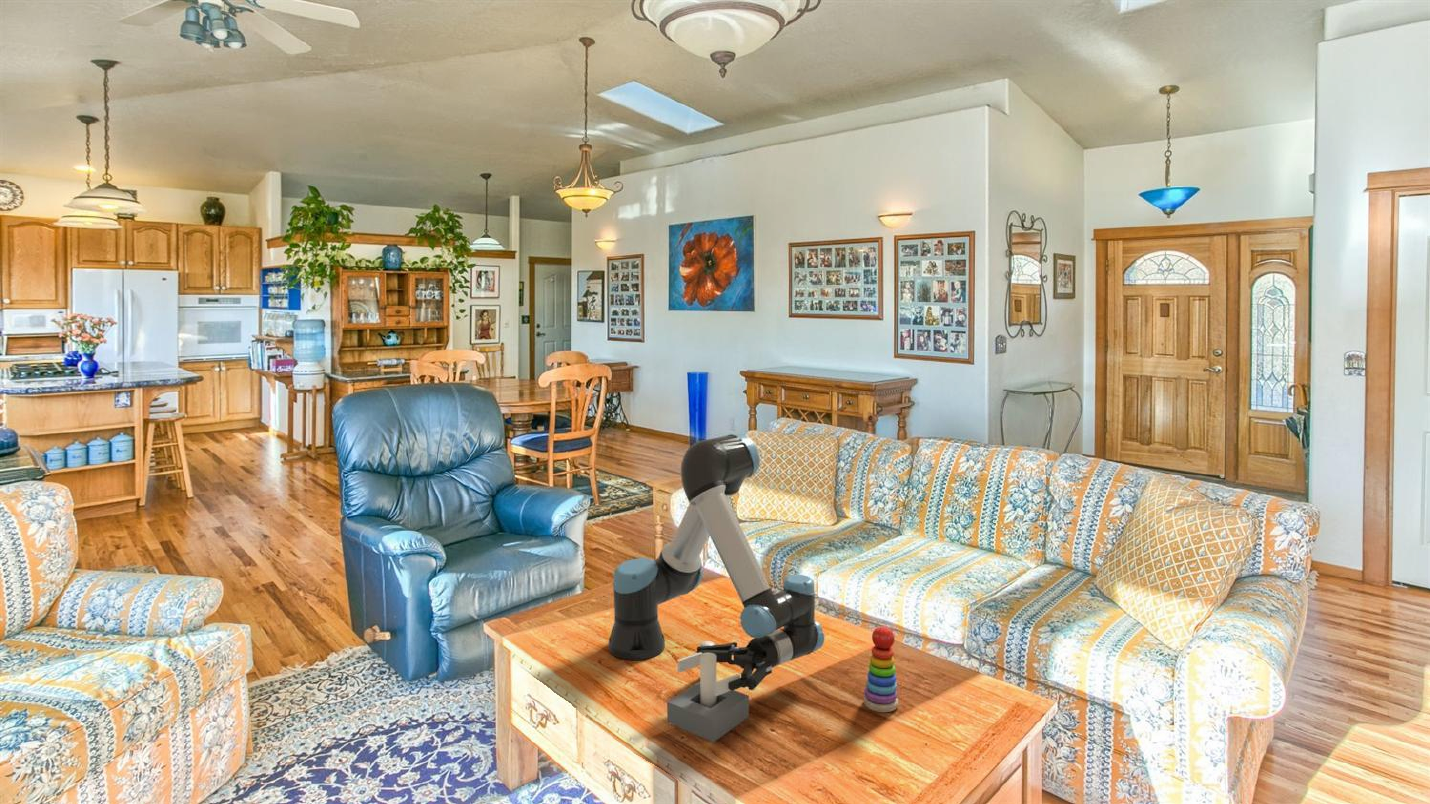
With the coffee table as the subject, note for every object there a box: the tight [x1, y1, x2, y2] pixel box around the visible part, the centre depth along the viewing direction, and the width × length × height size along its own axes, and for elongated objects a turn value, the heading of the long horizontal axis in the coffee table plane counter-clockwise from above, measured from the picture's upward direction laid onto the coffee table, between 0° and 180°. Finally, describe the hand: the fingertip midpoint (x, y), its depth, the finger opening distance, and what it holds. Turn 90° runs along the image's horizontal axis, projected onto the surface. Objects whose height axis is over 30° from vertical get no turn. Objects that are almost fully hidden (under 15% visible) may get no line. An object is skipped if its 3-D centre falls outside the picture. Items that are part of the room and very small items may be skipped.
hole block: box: [666, 681, 750, 743], centre depth 176 cm, size 13×13×5 cm
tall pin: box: [699, 653, 718, 708], centre depth 175 cm, size 4×4×15 cm
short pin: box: [699, 640, 716, 646], centre depth 195 cm, size 4×4×9 cm
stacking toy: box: [863, 625, 900, 713], centre depth 181 cm, size 8×8×19 cm
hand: (696, 677), depth 173 cm, fingers open, 13 cm apart
